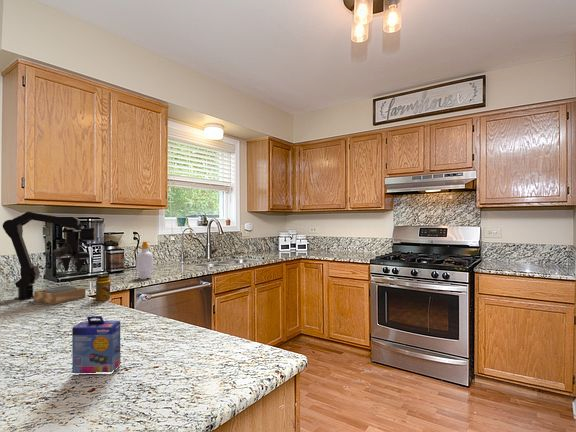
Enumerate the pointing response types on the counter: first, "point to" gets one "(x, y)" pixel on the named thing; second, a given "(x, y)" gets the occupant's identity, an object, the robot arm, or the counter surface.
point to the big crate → (59, 296)
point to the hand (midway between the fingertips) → (72, 271)
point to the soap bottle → (144, 262)
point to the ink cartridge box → (95, 346)
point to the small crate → (60, 289)
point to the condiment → (102, 289)
